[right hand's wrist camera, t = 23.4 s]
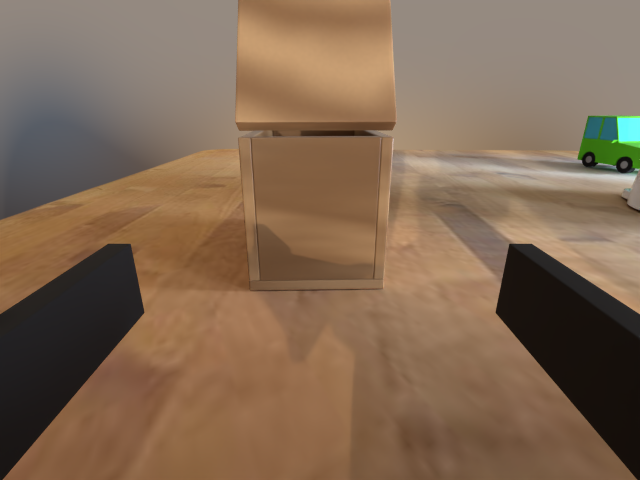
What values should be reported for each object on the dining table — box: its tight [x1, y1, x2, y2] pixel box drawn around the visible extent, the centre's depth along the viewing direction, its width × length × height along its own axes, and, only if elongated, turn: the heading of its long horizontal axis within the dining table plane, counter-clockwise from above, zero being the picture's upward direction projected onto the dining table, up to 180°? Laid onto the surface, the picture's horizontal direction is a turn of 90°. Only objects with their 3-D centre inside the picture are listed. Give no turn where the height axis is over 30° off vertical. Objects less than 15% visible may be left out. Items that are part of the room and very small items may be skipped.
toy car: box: [578, 116, 640, 173], centre depth 70 cm, size 10×13×10 cm
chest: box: [238, 130, 394, 290], centre depth 30 cm, size 14×9×10 cm, turn 2°
